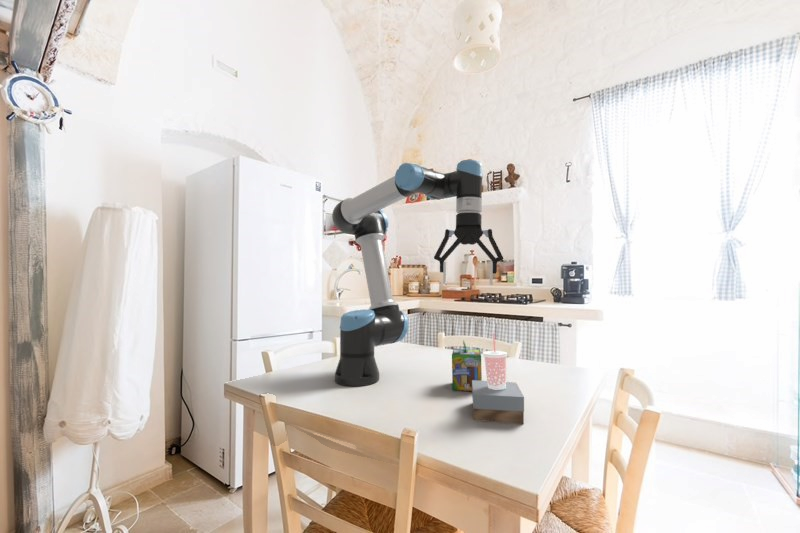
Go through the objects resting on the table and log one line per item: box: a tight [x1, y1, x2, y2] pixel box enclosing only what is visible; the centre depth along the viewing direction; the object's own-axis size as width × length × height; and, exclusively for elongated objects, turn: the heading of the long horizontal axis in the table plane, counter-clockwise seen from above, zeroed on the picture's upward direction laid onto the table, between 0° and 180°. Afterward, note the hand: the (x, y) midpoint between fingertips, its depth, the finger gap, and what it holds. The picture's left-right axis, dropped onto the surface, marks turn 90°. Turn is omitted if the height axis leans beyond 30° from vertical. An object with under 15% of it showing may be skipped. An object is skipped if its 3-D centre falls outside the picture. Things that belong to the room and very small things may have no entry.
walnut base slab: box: [472, 407, 525, 425], centre depth 94 cm, size 12×12×4 cm
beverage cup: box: [482, 332, 508, 390], centre depth 94 cm, size 6×6×14 cm
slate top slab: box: [471, 380, 525, 412], centre depth 94 cm, size 12×12×4 cm
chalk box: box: [451, 339, 483, 392], centre depth 115 cm, size 9×9×15 cm
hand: (467, 284), depth 107 cm, fingers open, 13 cm apart
